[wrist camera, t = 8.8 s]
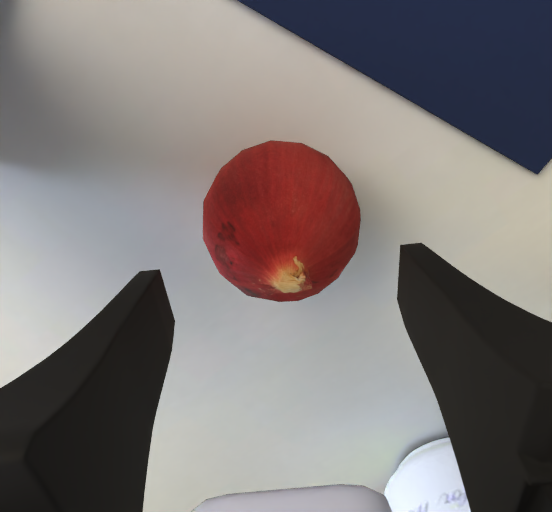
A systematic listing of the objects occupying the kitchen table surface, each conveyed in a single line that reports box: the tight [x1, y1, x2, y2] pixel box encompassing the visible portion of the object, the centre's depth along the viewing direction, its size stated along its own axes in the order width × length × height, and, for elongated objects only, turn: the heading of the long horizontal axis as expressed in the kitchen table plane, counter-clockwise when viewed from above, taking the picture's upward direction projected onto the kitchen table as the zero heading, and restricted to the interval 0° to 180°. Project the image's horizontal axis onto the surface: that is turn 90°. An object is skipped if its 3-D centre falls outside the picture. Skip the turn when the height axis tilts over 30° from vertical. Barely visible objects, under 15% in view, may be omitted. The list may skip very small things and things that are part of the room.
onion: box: [203, 141, 361, 302], centre depth 17 cm, size 6×6×8 cm
